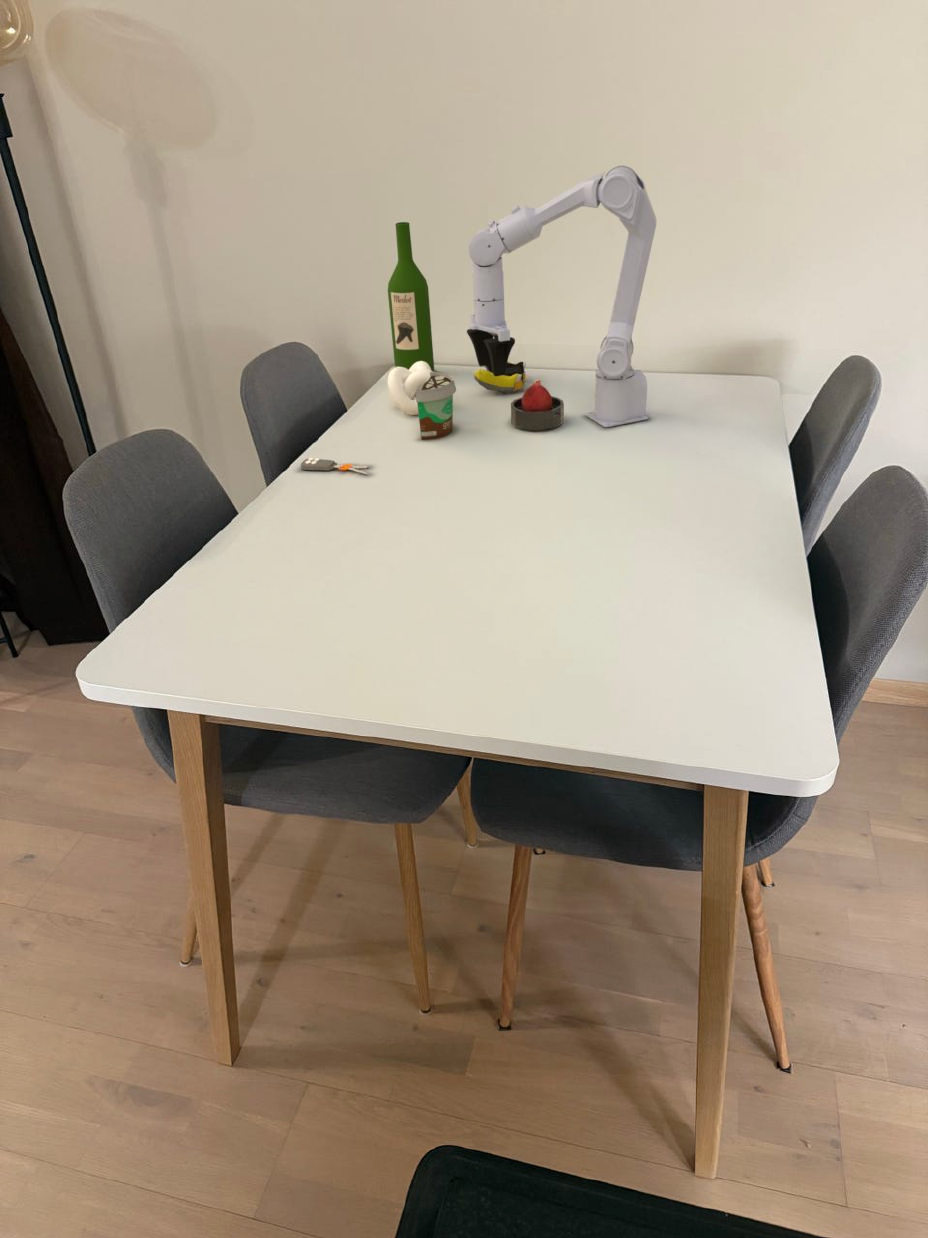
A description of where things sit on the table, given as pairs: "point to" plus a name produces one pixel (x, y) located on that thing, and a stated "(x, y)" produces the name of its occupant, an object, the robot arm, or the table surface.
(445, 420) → the food container
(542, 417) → the bowl
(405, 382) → the white knotted piece
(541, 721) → the table surface
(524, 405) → the onion
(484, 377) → the banana bunch
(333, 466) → the key chain
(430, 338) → the wine bottle
